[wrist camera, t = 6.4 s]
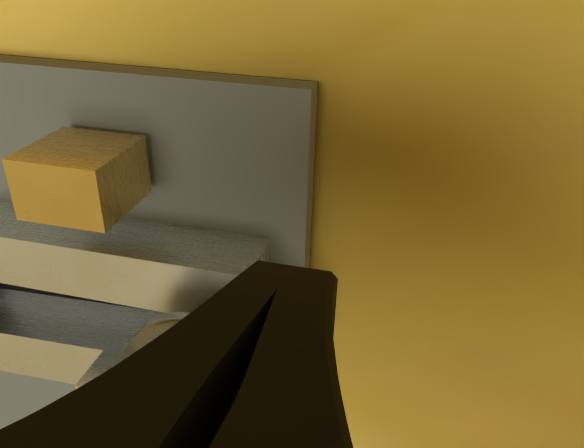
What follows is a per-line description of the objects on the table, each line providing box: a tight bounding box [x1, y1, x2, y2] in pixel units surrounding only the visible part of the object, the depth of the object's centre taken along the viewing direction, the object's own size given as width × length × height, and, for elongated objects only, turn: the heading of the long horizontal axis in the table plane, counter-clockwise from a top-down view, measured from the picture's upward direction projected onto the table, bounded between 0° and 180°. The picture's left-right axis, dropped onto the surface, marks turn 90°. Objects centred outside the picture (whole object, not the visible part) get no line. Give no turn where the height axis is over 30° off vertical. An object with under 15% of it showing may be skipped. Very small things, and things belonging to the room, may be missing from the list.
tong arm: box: [0, 288, 189, 389], centre depth 16 cm, size 13×4×3 cm, turn 90°
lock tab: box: [2, 127, 151, 233], centre depth 14 cm, size 2×2×2 cm
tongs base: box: [0, 198, 270, 313], centre depth 16 cm, size 12×3×3 cm, turn 88°
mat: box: [0, 55, 318, 429], centre depth 19 cm, size 15×16×1 cm
